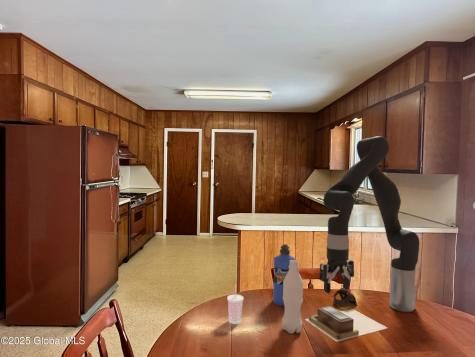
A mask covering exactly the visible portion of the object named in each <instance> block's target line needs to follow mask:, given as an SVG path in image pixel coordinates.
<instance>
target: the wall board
mask: <svg viewBox="0 0 475 357" xmlns="http://www.w3.org/2000/svg"><path fill="white" fill-rule="evenodd" d="M340 312H342V313H343V314H345V315H347V316H349V317H350V318H352V319H354V323H353V331H349V332H345V333H341V334H338V333H337V332H335V331H334V330H332V329H331V328H329V327H328V326H326V325H325V324H323V323H322V322H320V321H319V320H318V314H314V315H309V316H308V318H305V319H304V320H305V321H306V322H308V323H309V324H311V325H312V326H313V327H315V328H316V329H318V330H320V331H321V332H322V333H324V334H325V336H328V337H329V338H330V339H332V340H334V341H335V342H336V343H338V342H342V341H345V340H349V339H353V338H356V337H360V336H363V335H367V334H371V333H375V332H378V331H383V330H386V329H388V327H387V326H385V325H384V324H382V323H379V322H377V321H376V320H374V319H372V318H370V317H368V316H367V315H365V314H362V313H360V312H359V311H357V310H355V309H353V308H350V309H346V310H341V311H340Z"/></svg>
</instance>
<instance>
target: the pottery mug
mask: <svg viewBox="0 0 475 357" xmlns="http://www.w3.org/2000/svg"><path fill="white" fill-rule="evenodd" d="M338 295H339V297H340V299H337V298H336V297H337V296H338ZM350 302H351V303H353V304H355V306H358V302H357V298H356V296H355V295H354V294H353V293H352V292H351V291H349V289H347V290H346V289H344V288H343V287H341V288H340V289H338V290H336V291H335V292H334V293H333V301H332V303H333V304H334V306H337V307H344V306H350Z"/></svg>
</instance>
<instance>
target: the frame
mask: <svg viewBox="0 0 475 357" xmlns="http://www.w3.org/2000/svg"><path fill="white" fill-rule="evenodd" d="M317 315H318V320H319V321H320V322H322V323H323V324H325V325H326V326H328V327H329V328H331V329H332V330H334V331H335V332H337V333H338V334H341V333H345V332H349V331H353V323H354V319H352V318H350V317H349V316H347V315H345V314H343V313H342V312H341V311H340V310H338V309H336V308H335V307H333V306H332V305H327V306H323V307H318V308H317Z"/></svg>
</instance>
